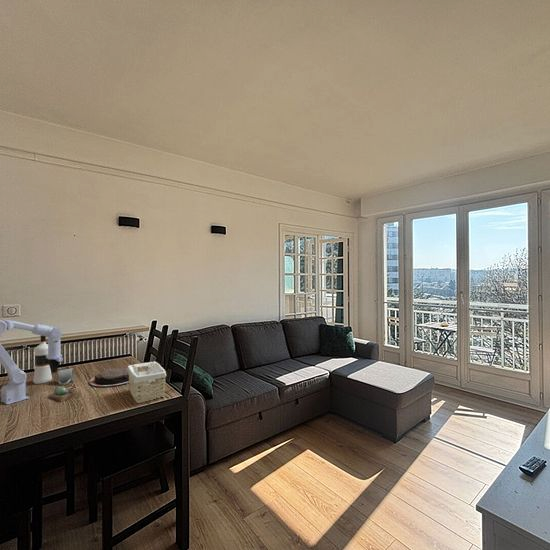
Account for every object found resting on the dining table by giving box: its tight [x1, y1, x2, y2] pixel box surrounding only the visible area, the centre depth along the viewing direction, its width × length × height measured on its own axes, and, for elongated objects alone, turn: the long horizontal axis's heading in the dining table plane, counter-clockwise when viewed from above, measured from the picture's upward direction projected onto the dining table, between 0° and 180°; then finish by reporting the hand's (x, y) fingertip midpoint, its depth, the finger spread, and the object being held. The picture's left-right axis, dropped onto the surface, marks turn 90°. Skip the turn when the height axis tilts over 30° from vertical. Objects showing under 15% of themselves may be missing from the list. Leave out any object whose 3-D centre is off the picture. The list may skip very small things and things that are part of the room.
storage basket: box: [127, 361, 167, 404], centre depth 169 cm, size 24×16×15 cm
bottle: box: [53, 385, 69, 396], centre depth 166 cm, size 4×4×9 cm
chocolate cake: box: [89, 367, 129, 388], centre depth 192 cm, size 28×28×7 cm
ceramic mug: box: [56, 367, 75, 386], centre depth 187 cm, size 11×8×8 cm
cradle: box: [49, 388, 82, 403], centre depth 165 cm, size 10×12×2 cm
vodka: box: [32, 335, 53, 385], centre depth 187 cm, size 9×9×30 cm
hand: (54, 372), depth 173 cm, fingers closed
